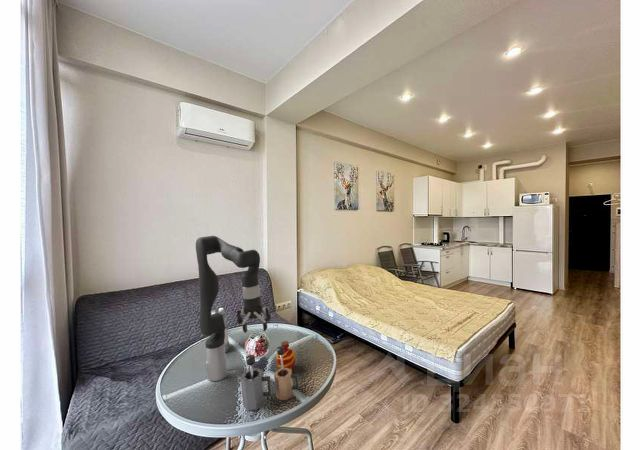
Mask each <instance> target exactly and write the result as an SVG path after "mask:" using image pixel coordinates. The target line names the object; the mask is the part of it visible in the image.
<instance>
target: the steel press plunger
mask: <svg viewBox="0 0 640 450" xmlns="http://www.w3.org/2000/svg"><path fill="white" fill-rule="evenodd" d="M245 363H246V364H245V365H247V366H249V369H250V371H251V379H254V377H253V369H254V367H253V365H254V364H255V363H256V356H255V354H250V355H249V354H248V355H247V356H246V357H245Z"/></svg>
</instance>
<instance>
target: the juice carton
mask: <svg viewBox="0 0 640 450" xmlns="http://www.w3.org/2000/svg"><path fill="white" fill-rule="evenodd" d="M214 313H220V314H221V315H222V316H223V319H224V326H225V339H224V343H225V352H226V353H229V350H230V342H229V341H230V340H229V333H228V330H229V329H228V322H227V315H226V312H225V308H223V307H220V308H217V309H214V310H211V315H212V314H214Z"/></svg>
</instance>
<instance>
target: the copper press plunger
mask: <svg viewBox="0 0 640 450" xmlns="http://www.w3.org/2000/svg"><path fill="white" fill-rule="evenodd" d="M276 352H277V353H276V355H277V354H278V355H280V358H281V368H282V376H284V368H283V358H282V355H283V354H284V353H285V349H284V346H281V345H280V346H277V348H276ZM281 368H280V369H281Z"/></svg>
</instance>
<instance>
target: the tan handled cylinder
mask: <svg viewBox="0 0 640 450" xmlns="http://www.w3.org/2000/svg"><path fill="white" fill-rule="evenodd" d="M273 375H274V376H273V377H274V389H275V397H276V398H277V399H278V400H280V401H287V400H288V399H290V398H292V397H293V395H294V390H295V391H297V390H298V391H299V389H300V388H299V387H300V385H299V383H300V382H299V374H298V373H293V370H292V371H291V370H290V369H288V368H284V376H282V368H279V369H277V370H275V372H274V374H273ZM293 379H295V385H294V383H293Z"/></svg>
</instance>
